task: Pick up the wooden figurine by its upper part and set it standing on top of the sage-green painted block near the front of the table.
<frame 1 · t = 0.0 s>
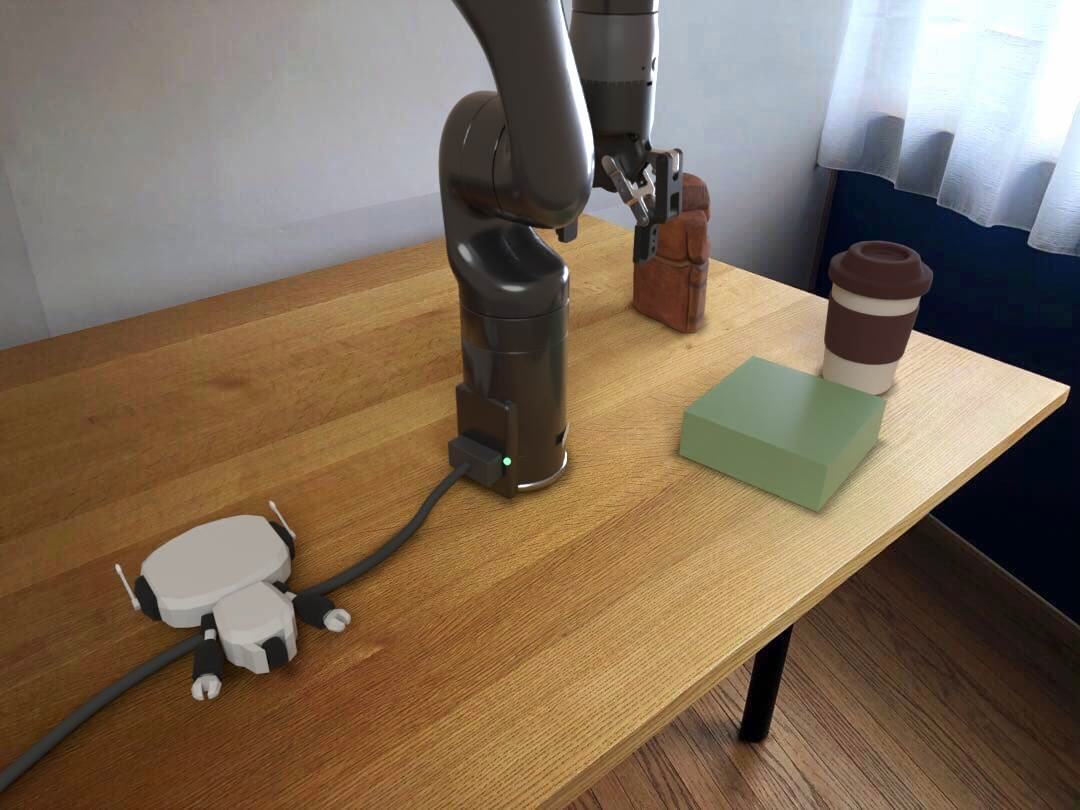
hand: (604, 251, 81), 17 cm above the table, tool pointing down, fingers open, 8 cm apart
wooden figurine: (669, 316, 109), on the table
coffee cup: (855, 382, 95), on the table
robot toy: (242, 621, 64), on the table
green block: (778, 448, 83), on the table
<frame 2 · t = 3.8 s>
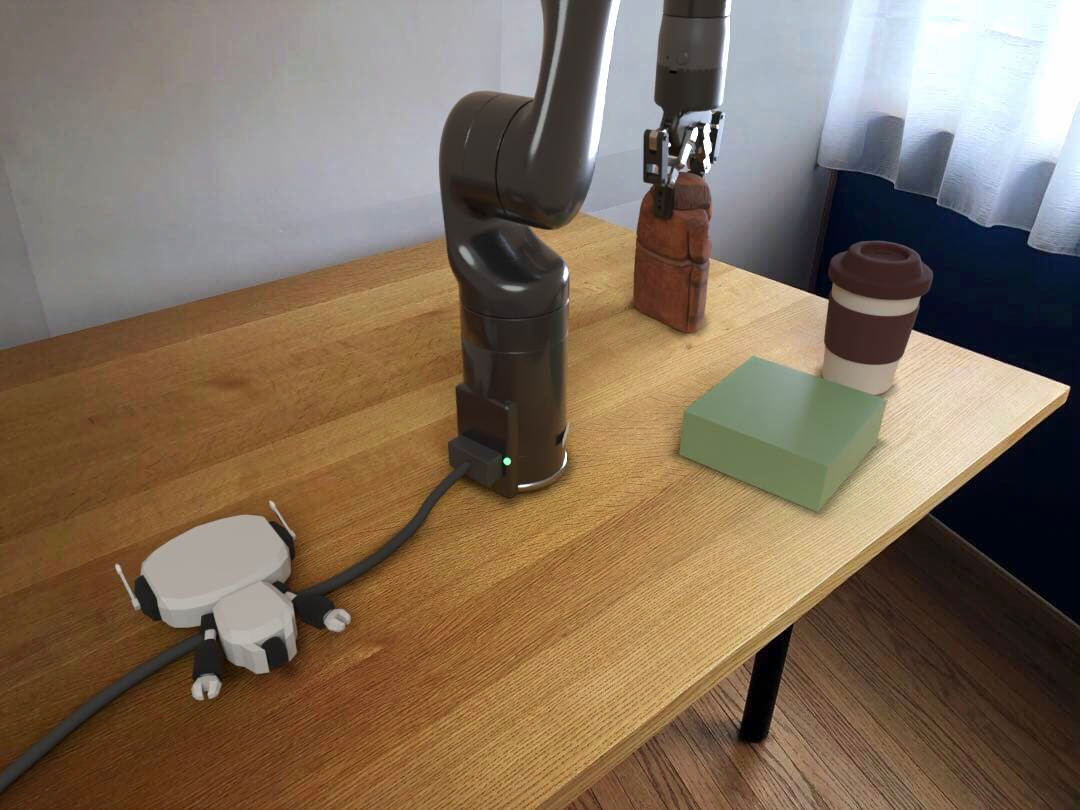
hand: (678, 210, 101), 14 cm above the table, tool pointing down, fingers closed on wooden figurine, 6 cm apart
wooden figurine: (669, 316, 109), on the table, touching gripper
everything else where it was.
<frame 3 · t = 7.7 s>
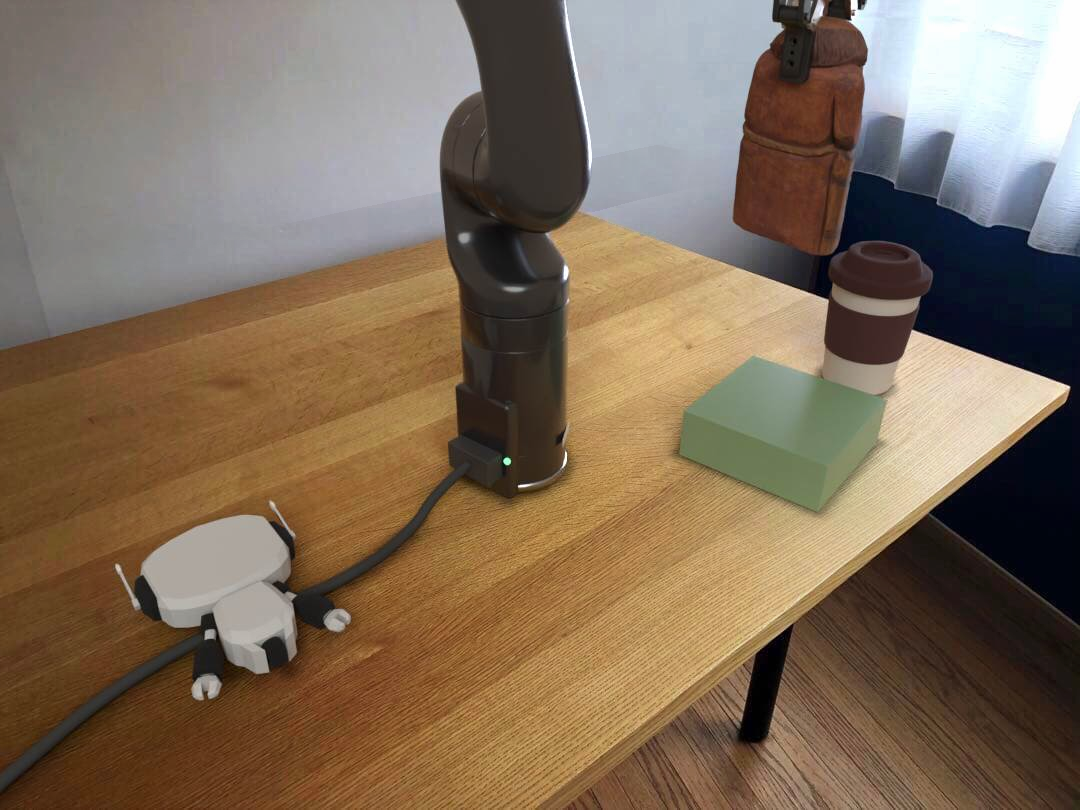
hand: (811, 74, 70), 33 cm above the table, tool pointing down, fingers closed on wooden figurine, 6 cm apart
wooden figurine: (785, 237, 77), point 20 cm above the table, touching gripper
everything else where it was.
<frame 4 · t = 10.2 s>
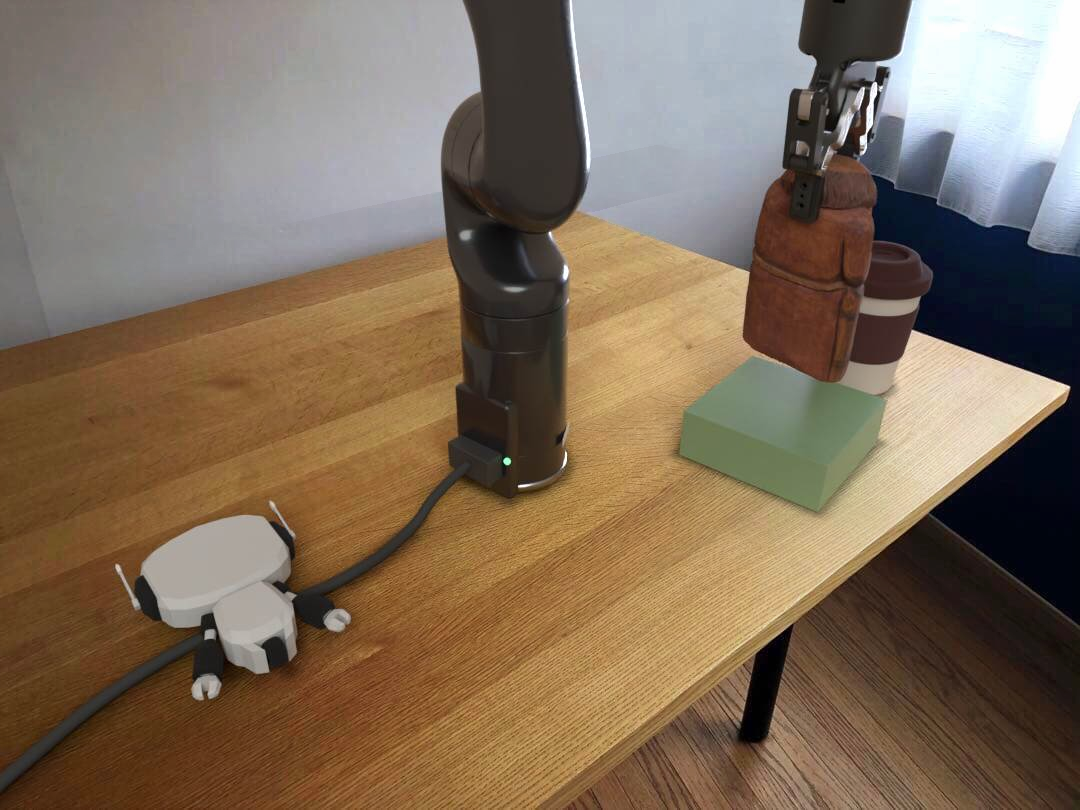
hand: (820, 209, 71), 24 cm above the table, tool pointing down, fingers closed on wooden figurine, 6 cm apart
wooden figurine: (795, 356, 78), point 10 cm above the table, touching gripper
everything else where it was.
when the fingers open (19 cm above the table, at t = 12.1 s): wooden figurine stays where it is, resting on green block.
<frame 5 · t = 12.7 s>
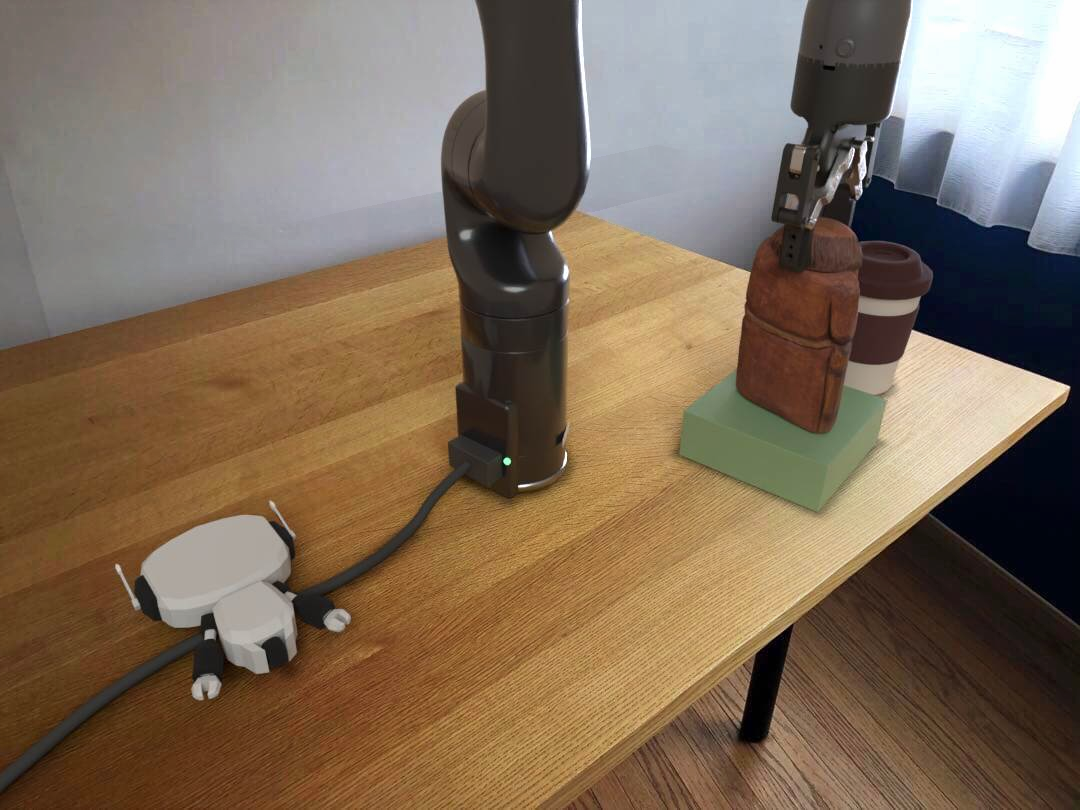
hand: (813, 254, 73), 20 cm above the table, tool pointing down, fingers open, 8 cm apart
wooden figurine: (786, 405, 81), point 5 cm above the table, touching green block
everything else where it was.
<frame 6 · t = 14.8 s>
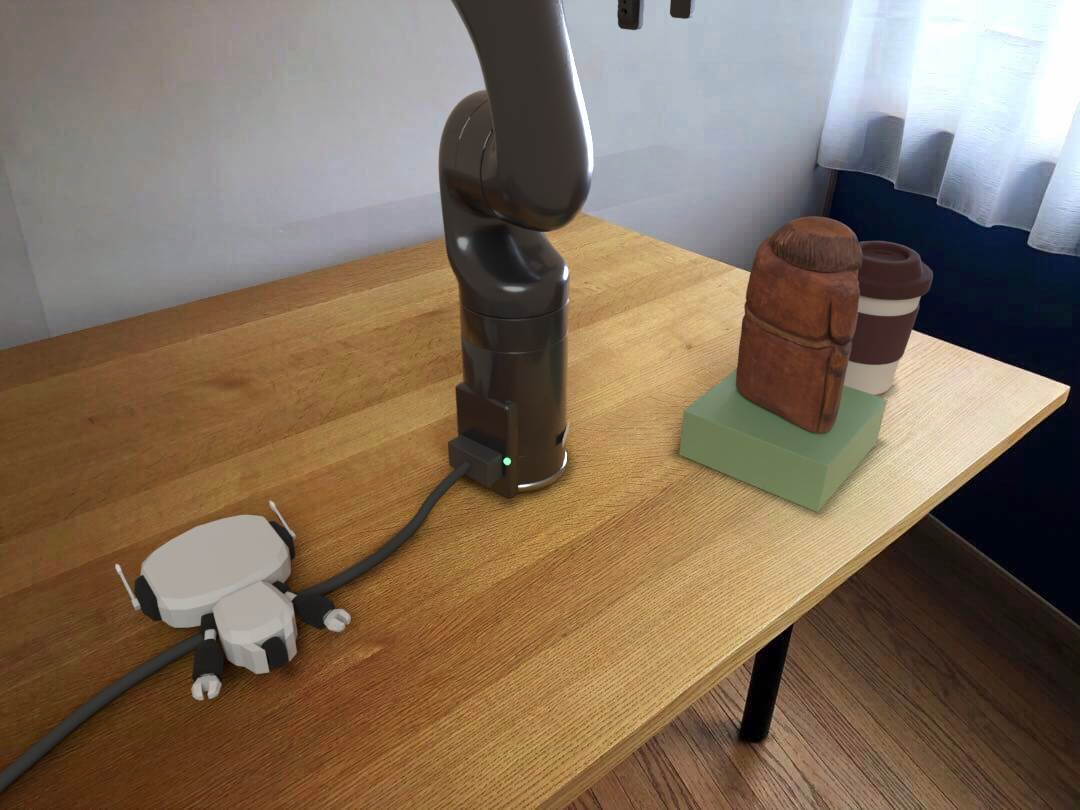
hand: (656, 23, 78), 36 cm above the table, tool pointing down, fingers open, 8 cm apart
nothing on the table moved.
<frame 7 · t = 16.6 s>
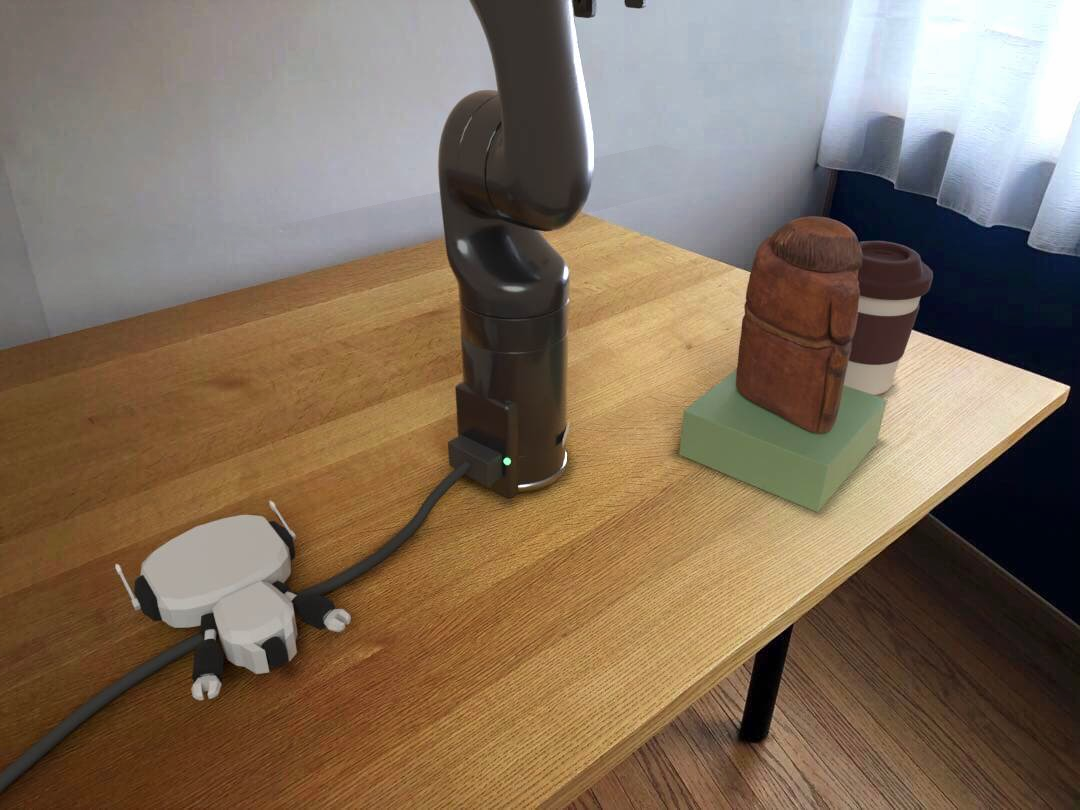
hand: (610, 12, 82), 36 cm above the table, tool pointing down, fingers open, 8 cm apart
nothing on the table moved.
at the end: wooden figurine inside the target area on the green block (0.2 cm from its centre), point 4.8 cm above the green block's base; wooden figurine tilted 0° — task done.
